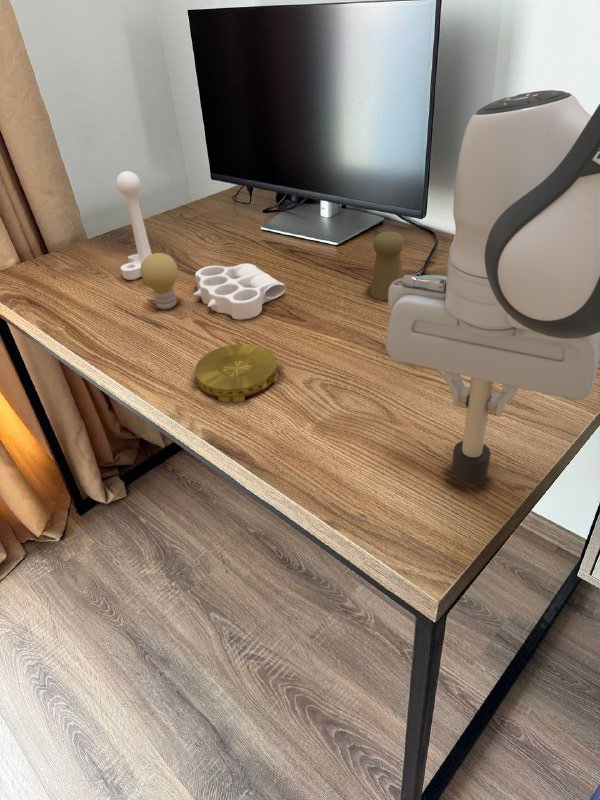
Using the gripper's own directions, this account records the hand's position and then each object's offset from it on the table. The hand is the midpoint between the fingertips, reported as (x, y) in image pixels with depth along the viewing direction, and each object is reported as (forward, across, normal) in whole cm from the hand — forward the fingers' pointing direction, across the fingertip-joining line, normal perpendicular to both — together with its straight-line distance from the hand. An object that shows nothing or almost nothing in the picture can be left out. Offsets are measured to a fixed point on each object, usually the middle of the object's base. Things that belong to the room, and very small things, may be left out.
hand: (478, 408), depth 62 cm
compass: (+10, -36, +6) cm, 38 cm away
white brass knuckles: (+10, -51, +28) cm, 59 cm away
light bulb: (+10, -61, +20) cm, 65 cm away
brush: (+9, 0, 0) cm, 9 cm away
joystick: (+9, -75, +29) cm, 81 cm away
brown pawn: (+10, -26, +40) cm, 49 cm away
